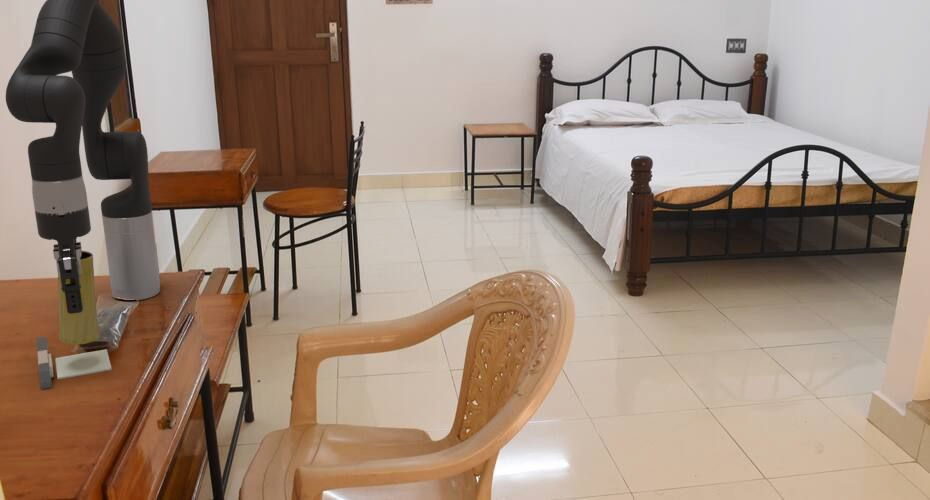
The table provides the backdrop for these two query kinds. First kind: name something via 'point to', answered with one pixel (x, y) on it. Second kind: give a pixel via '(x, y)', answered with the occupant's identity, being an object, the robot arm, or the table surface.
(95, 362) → the pad
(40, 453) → the table surface
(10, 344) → the table surface
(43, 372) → the price rail
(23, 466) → the table surface
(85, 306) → the vase
